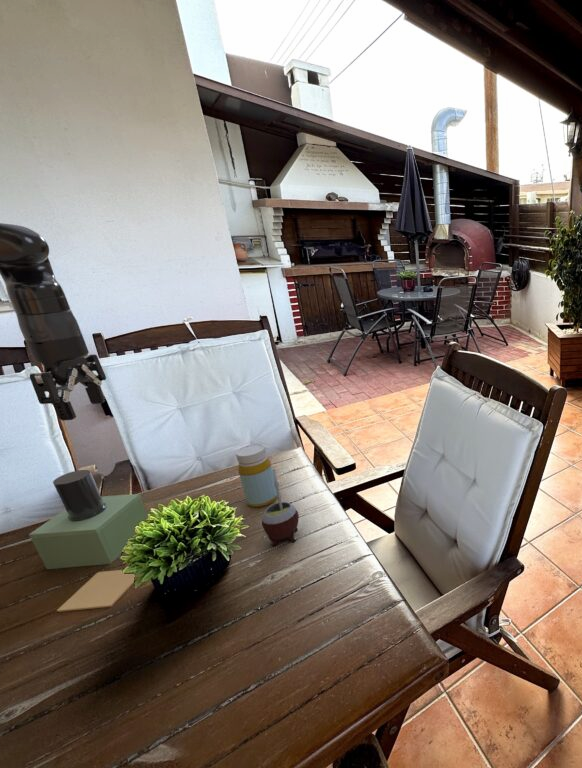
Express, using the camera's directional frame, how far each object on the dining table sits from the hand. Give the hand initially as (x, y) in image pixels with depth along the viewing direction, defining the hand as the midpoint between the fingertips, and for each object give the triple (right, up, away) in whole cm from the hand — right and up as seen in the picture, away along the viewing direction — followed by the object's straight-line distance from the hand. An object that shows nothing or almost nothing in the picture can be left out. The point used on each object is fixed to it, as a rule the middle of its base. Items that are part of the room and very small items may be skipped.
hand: (84, 410), depth 83 cm
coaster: (+10, -35, -5) cm, 36 cm away
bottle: (+24, -25, +21) cm, 41 cm away
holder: (-2, -22, +2) cm, 22 cm away
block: (-2, -30, +6) cm, 31 cm away
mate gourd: (+37, -30, +8) cm, 48 cm away
